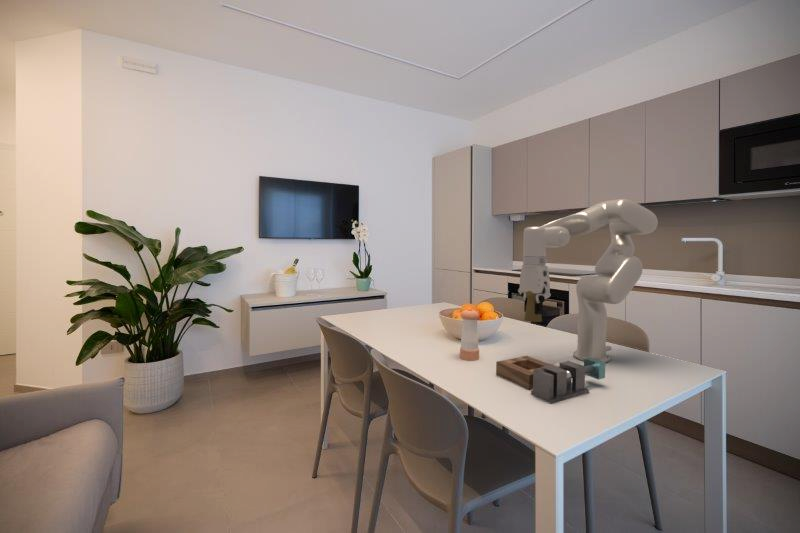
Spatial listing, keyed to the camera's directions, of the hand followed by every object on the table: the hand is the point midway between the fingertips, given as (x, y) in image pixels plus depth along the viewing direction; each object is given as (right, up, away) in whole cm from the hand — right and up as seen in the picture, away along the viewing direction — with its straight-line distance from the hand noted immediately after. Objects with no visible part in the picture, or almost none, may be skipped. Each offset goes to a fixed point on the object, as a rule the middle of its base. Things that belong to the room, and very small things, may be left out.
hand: (533, 312), depth 128 cm
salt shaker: (-21, -19, +10) cm, 30 cm away
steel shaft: (+6, -18, -20) cm, 28 cm away
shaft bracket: (-1, -20, -24) cm, 32 cm away
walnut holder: (-6, -20, -12) cm, 24 cm away
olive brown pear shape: (0, -3, 0) cm, 3 cm away
